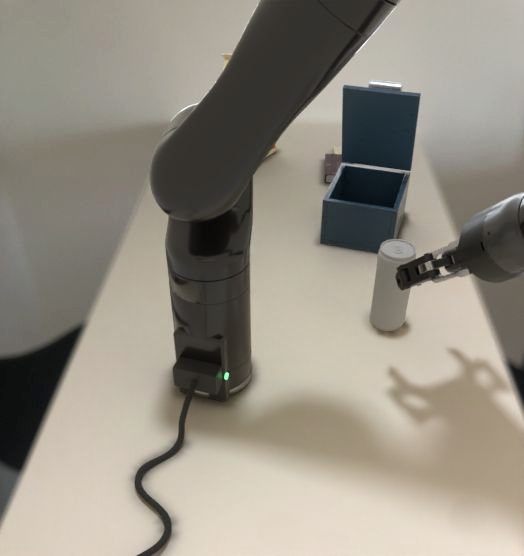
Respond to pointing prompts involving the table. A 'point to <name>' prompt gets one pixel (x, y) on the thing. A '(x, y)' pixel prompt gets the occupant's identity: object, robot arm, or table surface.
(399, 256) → the beverage can
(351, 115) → the lid
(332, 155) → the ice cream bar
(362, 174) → the blue open box
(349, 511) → the table surface
